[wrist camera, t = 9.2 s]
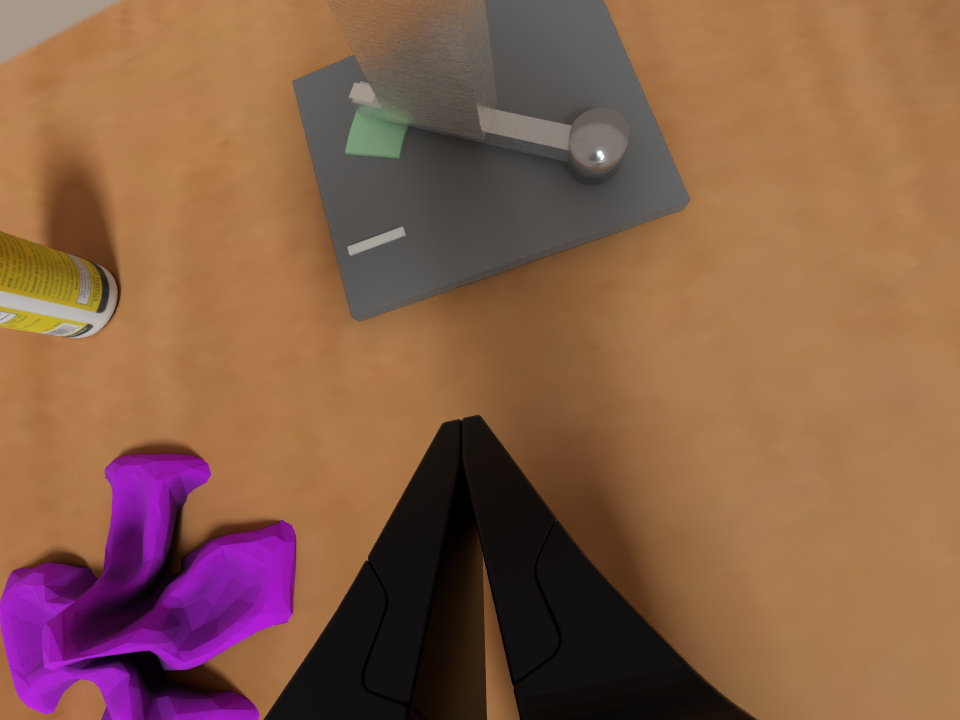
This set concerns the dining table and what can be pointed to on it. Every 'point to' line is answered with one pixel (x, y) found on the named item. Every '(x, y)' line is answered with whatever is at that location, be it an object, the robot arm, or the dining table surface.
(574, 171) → the frosted block on spoon
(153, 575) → the cloth
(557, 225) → the plate
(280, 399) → the dining table surface
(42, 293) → the supplement bottle
